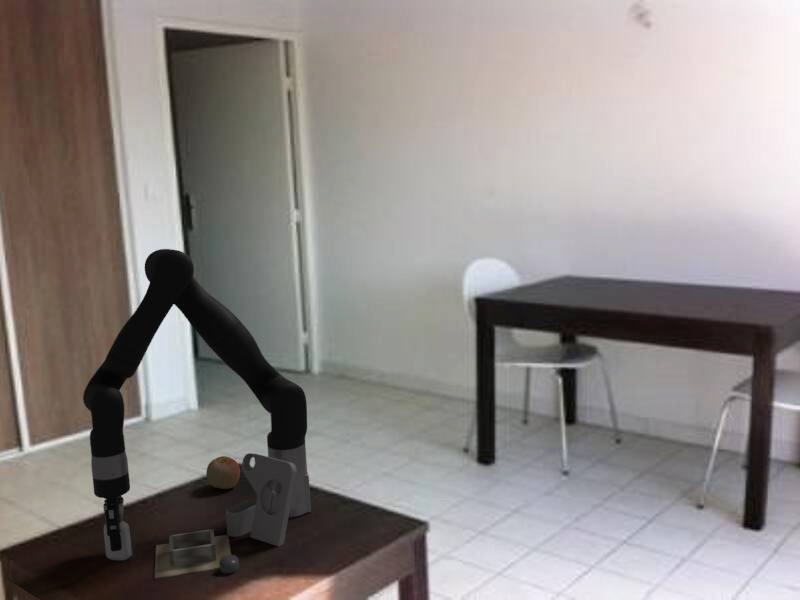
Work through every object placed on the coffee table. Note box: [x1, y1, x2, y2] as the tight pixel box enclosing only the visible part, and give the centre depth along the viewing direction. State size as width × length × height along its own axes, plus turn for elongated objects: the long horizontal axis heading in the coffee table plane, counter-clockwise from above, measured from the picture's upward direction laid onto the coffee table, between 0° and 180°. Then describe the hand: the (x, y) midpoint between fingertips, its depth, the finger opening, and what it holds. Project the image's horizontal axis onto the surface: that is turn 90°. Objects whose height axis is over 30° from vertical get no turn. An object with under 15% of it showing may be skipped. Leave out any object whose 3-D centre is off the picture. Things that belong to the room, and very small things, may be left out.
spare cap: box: [219, 554, 240, 575], centre depth 176 cm, size 4×4×2 cm
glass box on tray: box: [154, 528, 232, 580], centre depth 183 cm, size 16×16×4 cm
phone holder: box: [225, 453, 297, 547], centre depth 191 cm, size 17×10×18 cm, turn 53°
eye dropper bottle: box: [103, 518, 133, 561], centre depth 185 cm, size 4×6×12 cm
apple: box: [206, 455, 241, 490], centre depth 224 cm, size 9×9×8 cm
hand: (117, 543), depth 185 cm, fingers open, 7 cm apart
